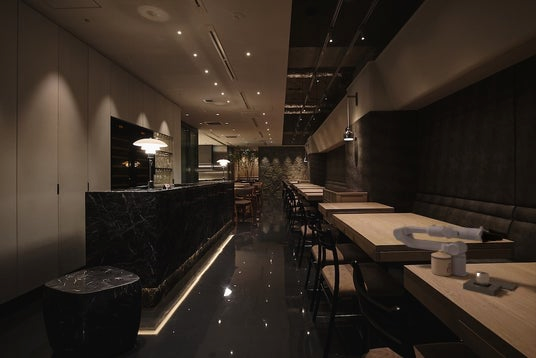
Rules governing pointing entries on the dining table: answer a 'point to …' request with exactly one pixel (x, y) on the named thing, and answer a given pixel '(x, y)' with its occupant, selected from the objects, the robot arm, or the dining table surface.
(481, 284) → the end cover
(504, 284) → the rubber mat
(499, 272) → the dining table surface
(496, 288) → the block
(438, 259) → the teacup with lid
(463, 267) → the robot arm
